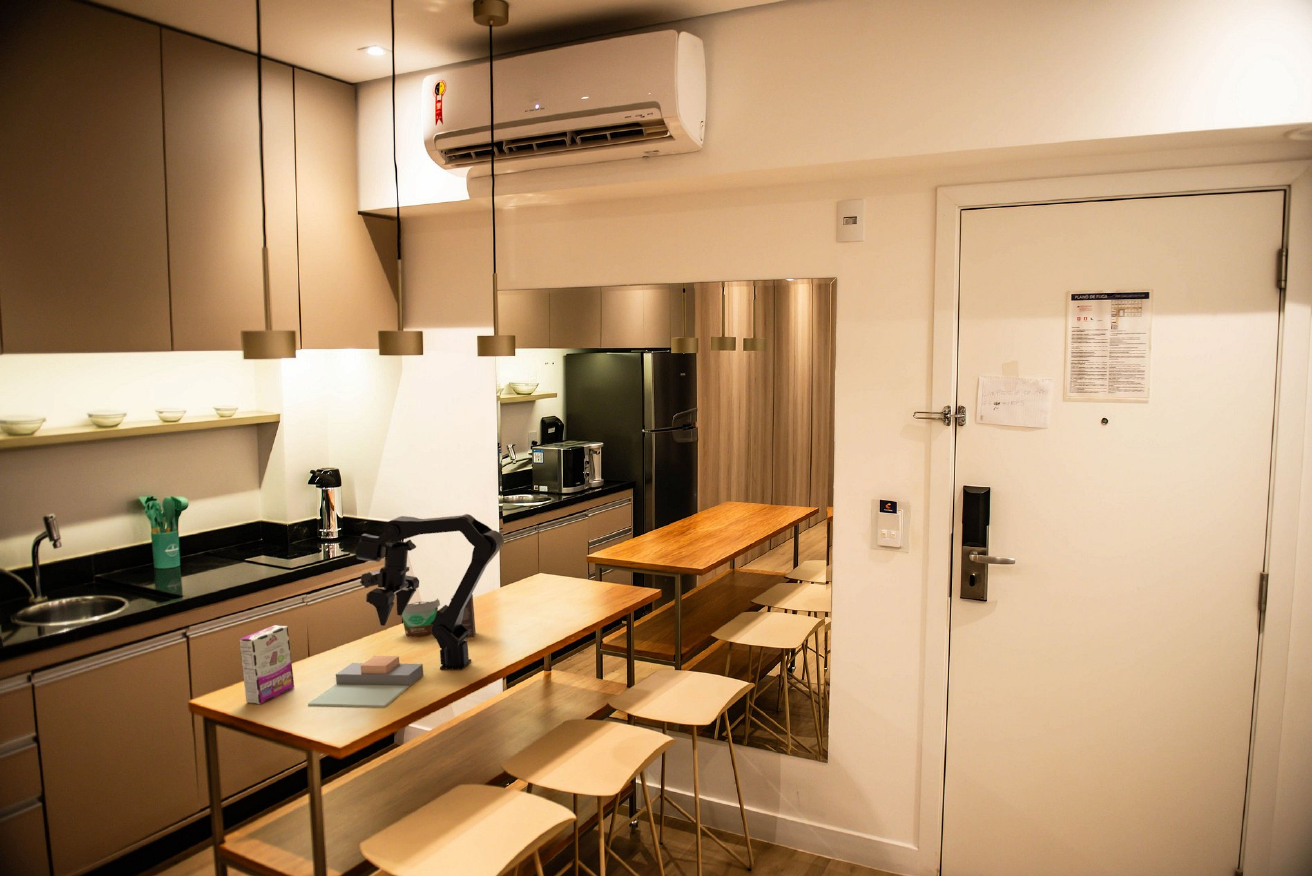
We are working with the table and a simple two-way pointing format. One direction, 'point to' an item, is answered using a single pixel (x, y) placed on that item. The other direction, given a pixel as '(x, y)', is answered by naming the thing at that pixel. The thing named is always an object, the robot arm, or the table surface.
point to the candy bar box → (266, 664)
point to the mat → (358, 695)
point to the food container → (419, 618)
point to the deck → (380, 675)
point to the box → (469, 617)
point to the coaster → (380, 664)
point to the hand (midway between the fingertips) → (391, 620)
